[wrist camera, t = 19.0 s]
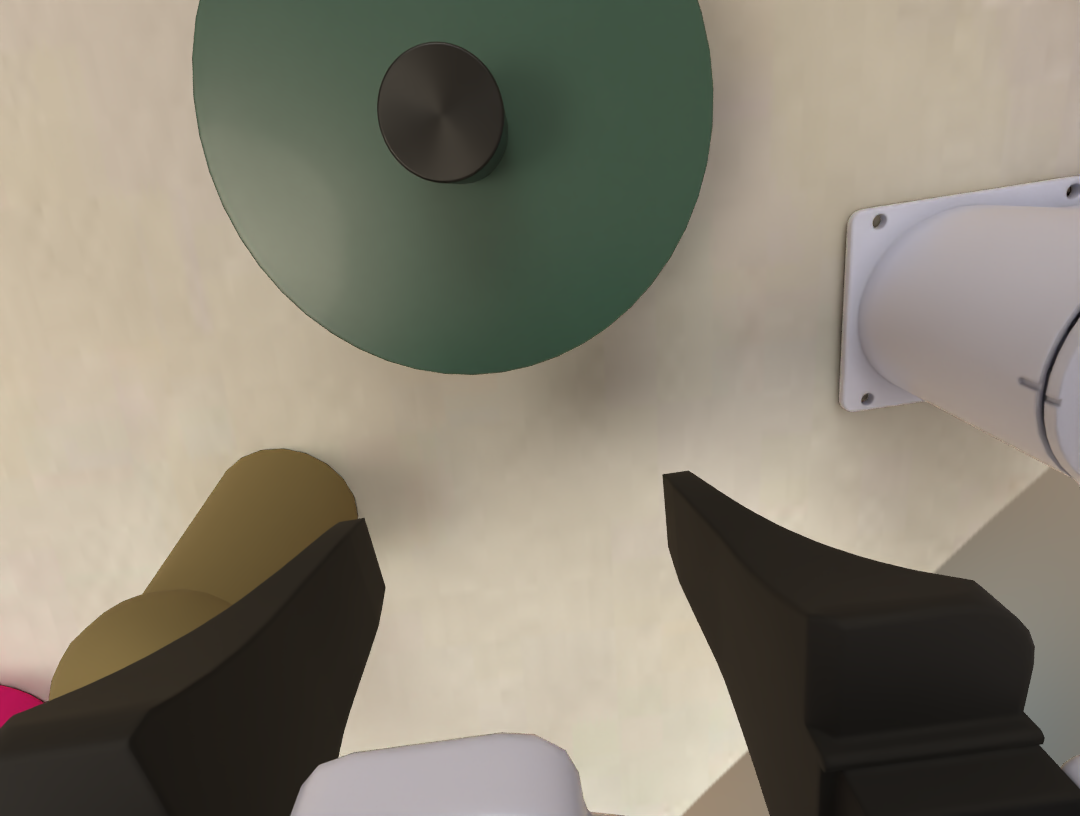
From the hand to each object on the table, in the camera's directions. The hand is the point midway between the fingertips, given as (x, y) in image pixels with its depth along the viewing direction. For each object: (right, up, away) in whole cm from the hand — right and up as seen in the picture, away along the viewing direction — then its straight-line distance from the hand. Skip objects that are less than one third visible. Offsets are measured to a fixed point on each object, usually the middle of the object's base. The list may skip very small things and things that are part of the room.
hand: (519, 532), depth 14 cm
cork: (-11, -1, +12) cm, 16 cm away
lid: (-1, +10, +1) cm, 10 cm away
